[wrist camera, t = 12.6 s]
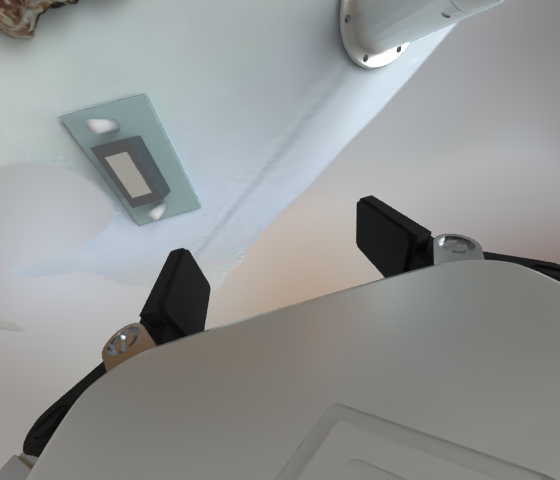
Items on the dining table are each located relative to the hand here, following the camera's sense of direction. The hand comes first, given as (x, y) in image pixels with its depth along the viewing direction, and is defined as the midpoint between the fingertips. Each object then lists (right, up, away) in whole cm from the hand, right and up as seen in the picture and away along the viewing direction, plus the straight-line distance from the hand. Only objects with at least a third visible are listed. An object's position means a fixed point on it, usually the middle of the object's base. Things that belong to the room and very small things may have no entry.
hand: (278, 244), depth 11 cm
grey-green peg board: (-23, +12, +22) cm, 35 cm away
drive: (-23, +12, +22) cm, 34 cm away
